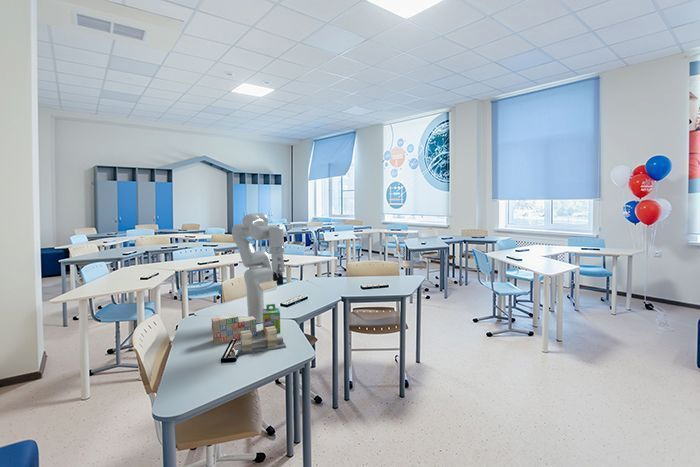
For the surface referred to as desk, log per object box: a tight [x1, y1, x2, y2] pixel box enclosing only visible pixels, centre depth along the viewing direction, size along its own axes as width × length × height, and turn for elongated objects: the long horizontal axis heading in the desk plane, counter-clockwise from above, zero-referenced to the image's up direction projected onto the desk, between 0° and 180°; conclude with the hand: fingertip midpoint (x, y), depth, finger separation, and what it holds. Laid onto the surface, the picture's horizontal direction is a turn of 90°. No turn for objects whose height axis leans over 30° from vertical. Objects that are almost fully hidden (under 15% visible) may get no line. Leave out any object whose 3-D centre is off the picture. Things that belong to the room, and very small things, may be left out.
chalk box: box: [262, 303, 281, 335], centre depth 205 cm, size 9×9×15 cm
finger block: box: [264, 326, 278, 347], centre depth 184 cm, size 5×5×8 cm
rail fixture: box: [233, 330, 287, 357], centre depth 182 cm, size 9×24×9 cm, turn 112°
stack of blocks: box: [211, 313, 258, 345], centre depth 196 cm, size 21×6×12 cm, turn 119°
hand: (278, 282), depth 196 cm, fingers open, 9 cm apart
